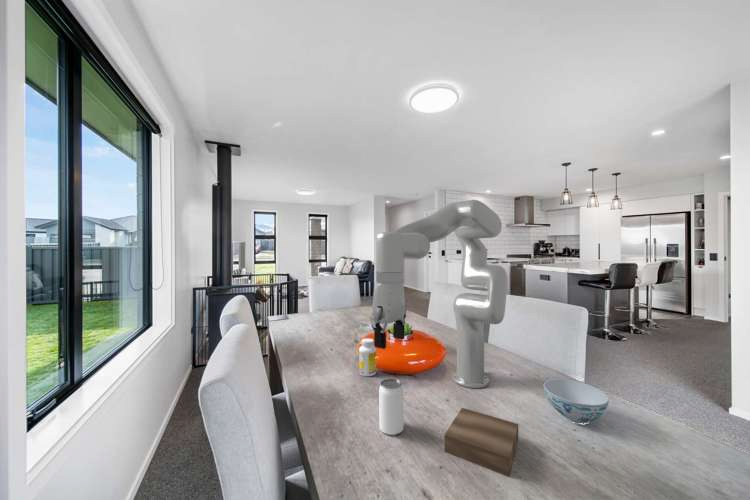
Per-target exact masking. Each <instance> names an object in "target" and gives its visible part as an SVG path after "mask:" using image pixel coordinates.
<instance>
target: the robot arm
mask: <svg viewBox="0 0 750 500" xmlns="http://www.w3.org/2000/svg"><path fill="white" fill-rule="evenodd" d="M502 227H503V225H502V219H501V218H500V216H499V215H498V213H496V212H495V211H494V210H493V209H491V208H490V207H489V206H488V205H487V204H485V203H484V202H482V201H480V200H479V199H478V200H477V199H469V200H468V199H467V200H460V201H456V202H451V203H448V204H446V205H444V206H443V207H441V208H439V210H437V211H435V212H433V213H432V214H430V215H428V216H426V217H423V218H419V219H418V220H416V221H415V220H414V221H413V222H410V223H407V224H405V225H403V226H400V227H398V228H397V229H396V230H393V231H383V232H379V233H377V235H376V239H375V241H376V249H375V252H376V253H375V254H376V255H375V256H376V257H375V258H376V259H375V264H376V265H375V267H376V268H375V270H376V272H375V280H376V281H375V282H376V283H375V284H374V290H373V295H372V296H373V297H372V309H371V310H372V311H371V312H372V314H371V315H370V317H369V320H370V324H371V327H372V331H373V332H374V333H373V334H374V336H373V337H374V339H373V340H374V343H373V346H375V347H376V349H377V348H378V349H382V350H385V349H387V332H386V329H387V326H388V325H389V324H393V325H392V326H393V328H392V329H393V330H392V331H393V336H392V337H393V338H394V339H397V340H404V339H405V324H406V317H407V310H408V306H406V300H405V287H404V285H405V260H420V259H423V258H425V257H427V255H428V254H429V253H430V251H431V243H434V242H438V241H441V240H444V239H445V238H446V237H448V236H449V235H451V234H453V232H454V234H455V236H456V238H457V239H458V241H459V243H460V244H461V245H460V246H461V247H462V262H461V272H460V273H461V274H460V283H461V286H462V287H463V288H465V289H467V290H471V291H472V290H473V291H480V292H488V294H480V293H473V292H464V293H459V294H458V295H457V296H456V297H455V298H454V300H453V312H454V316H455V323H456V324H455V325H456V371H455V372H453V374H452V380H453V382H455V383H456V384H457V385H460V386H461V387H466V388H469V389H470V388H471V389H481V388H485V387H488V386H489V384H490V378H489V377H488V376H487V375H486V374H485V332H484V329H483V327H482V324H481V323H484V324H490V325H499V324H501V323H502V322H503V320H504V319H505V318H504V317H505V316H506V315H505V314H506V313H505V312H506V306H507V305H506V303H507V291H508V275H507V271H506V269H505V268H504V267H503V266H501V265H497V264H487V263H488V261H487V260H488V250H487V248H486V245H485V244H484V243H483V242H482V241H481V239H493V238H496V237H498V236H499V235H500V234H501V233H502V232H501V231H502Z"/></svg>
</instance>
